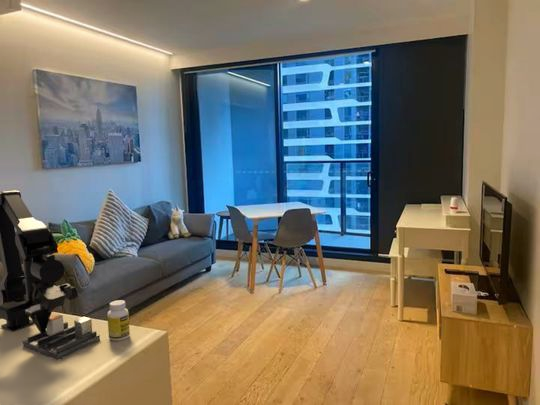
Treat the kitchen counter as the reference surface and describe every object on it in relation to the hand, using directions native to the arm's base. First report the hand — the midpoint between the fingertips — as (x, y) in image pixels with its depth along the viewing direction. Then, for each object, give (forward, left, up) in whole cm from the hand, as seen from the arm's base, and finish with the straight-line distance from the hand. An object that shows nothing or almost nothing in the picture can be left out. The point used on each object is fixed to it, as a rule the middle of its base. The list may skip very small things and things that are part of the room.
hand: (42, 332), depth 108 cm
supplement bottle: (+14, +13, -4) cm, 19 cm away
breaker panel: (+4, +3, -4) cm, 6 cm away
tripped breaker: (0, +3, -2) cm, 4 cm away
